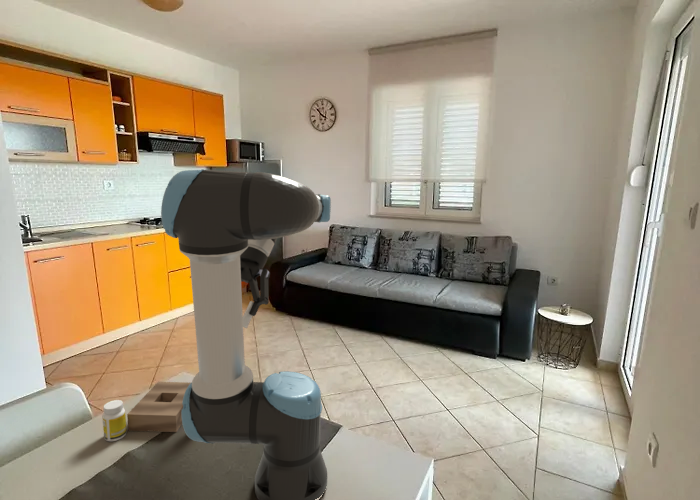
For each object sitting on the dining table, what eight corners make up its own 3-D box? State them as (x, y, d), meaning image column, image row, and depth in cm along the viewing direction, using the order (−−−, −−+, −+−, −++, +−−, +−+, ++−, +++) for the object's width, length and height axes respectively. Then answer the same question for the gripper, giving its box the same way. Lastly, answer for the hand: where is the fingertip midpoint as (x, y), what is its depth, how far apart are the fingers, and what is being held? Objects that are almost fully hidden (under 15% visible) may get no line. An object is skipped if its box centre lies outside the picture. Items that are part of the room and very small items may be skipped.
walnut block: (176, 431, 96) (175, 415, 96) (128, 430, 96) (127, 414, 95) (200, 397, 112) (199, 382, 111) (158, 395, 112) (158, 381, 111)
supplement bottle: (131, 430, 96) (129, 399, 95) (118, 443, 92) (115, 410, 90) (113, 428, 97) (110, 398, 95) (99, 441, 92) (96, 409, 91)
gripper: (298, 265, 108) (267, 336, 99) (228, 252, 118) (195, 315, 109) (287, 251, 102) (254, 325, 93) (215, 239, 112) (178, 305, 103)
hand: (222, 320), depth 101 cm, fingers open, 13 cm apart
